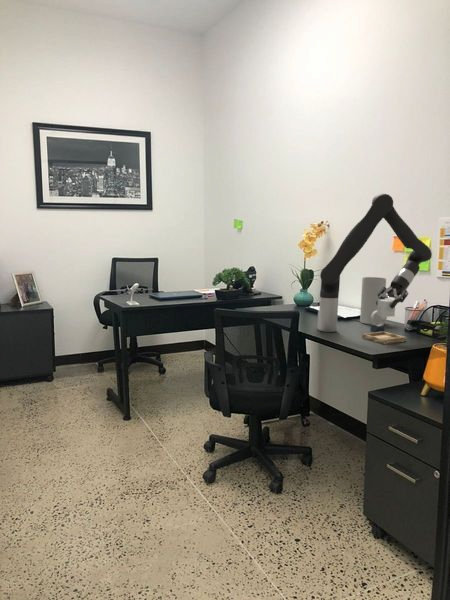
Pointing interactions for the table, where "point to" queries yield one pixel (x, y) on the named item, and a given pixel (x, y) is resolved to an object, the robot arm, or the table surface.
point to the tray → (384, 337)
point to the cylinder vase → (370, 298)
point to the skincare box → (385, 308)
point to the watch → (377, 327)
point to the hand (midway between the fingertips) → (384, 306)
